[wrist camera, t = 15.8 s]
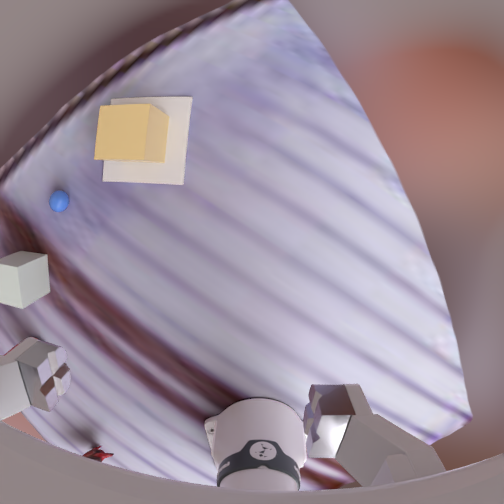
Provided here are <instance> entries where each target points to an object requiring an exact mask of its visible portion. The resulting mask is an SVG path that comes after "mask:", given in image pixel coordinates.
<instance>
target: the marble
mask: <svg viewBox="0 0 504 504" xmlns="http://www.w3.org/2000/svg"><path fill="white" fill-rule="evenodd" d="M68 204H69V197H68V195H67V194H66V193H65V192H64V191H61V190H58V191H55V192H54V193H52V195H51V196H50V199H49V205H50V207H51V209H52V210H53V211H55V212H62V211H64V210H65V209H66V208H67V206H68Z"/></svg>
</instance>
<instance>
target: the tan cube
mask: <svg viewBox="0 0 504 504" xmlns="http://www.w3.org/2000/svg"><path fill="white" fill-rule="evenodd" d="M168 125H169V116H168V115H166V114H165V113H164V112H162V111H161V110H159V109H158V108H156V107H155V106H153V105H152V104H124V105H106V106H100V112H99V119H98V127H97V135H96V145H95V155H94V160H106V161H116V162H144V163H165V153H166V143H167V134H168Z"/></svg>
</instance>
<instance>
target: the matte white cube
mask: <svg viewBox="0 0 504 504" xmlns="http://www.w3.org/2000/svg"><path fill="white" fill-rule="evenodd" d="M49 292H50V284H49V272H48V257H47V254H40V253H33V252H26V251H19V252H16V253H13V254H11V255H8V256H5V257H3V258H0V303H3V304H6V305H10V306H13V307H17V308H21V309H24V308H25V307H27V306H28V305H30V304H32V303H33V302H35V301H36V300H38V299H40V298H41V297H43V296H45V295H46V294H48V293H49Z"/></svg>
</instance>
